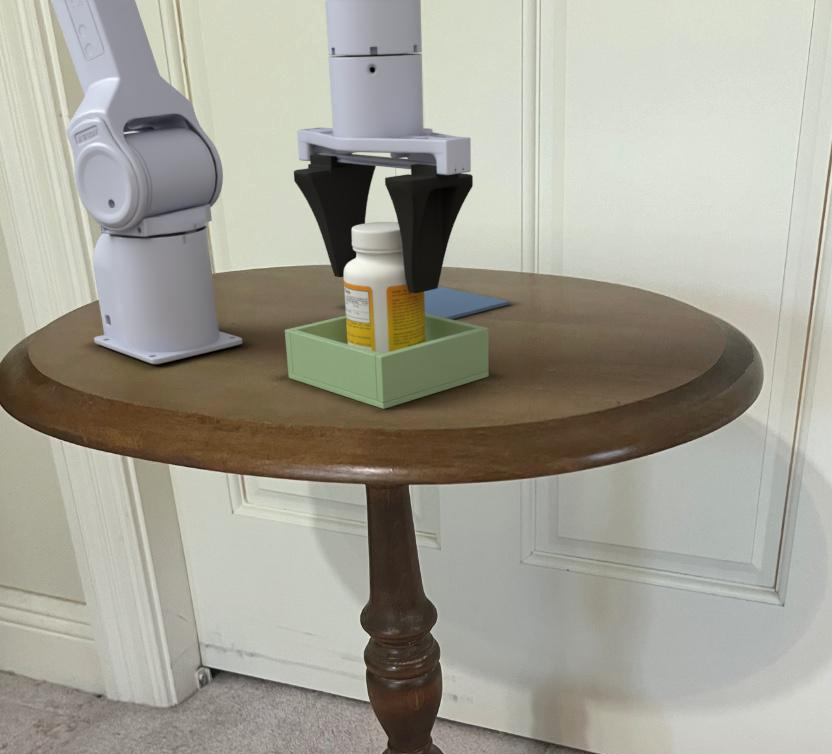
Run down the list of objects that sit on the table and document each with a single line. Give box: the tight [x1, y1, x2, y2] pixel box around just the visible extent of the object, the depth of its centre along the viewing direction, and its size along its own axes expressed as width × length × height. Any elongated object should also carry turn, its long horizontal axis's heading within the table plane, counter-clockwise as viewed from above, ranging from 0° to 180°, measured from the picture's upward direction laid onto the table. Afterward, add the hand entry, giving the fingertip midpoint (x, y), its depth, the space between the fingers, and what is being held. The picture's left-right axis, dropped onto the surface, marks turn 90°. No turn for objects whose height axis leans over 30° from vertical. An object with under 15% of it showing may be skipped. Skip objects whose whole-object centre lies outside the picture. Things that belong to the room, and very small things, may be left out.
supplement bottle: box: [343, 221, 426, 354], centre depth 73 cm, size 5×5×10 cm
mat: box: [424, 286, 510, 320], centre depth 94 cm, size 10×10×1 cm
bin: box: [284, 313, 490, 410], centre depth 75 cm, size 10×10×3 cm
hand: (384, 282), depth 73 cm, fingers open, 7 cm apart
